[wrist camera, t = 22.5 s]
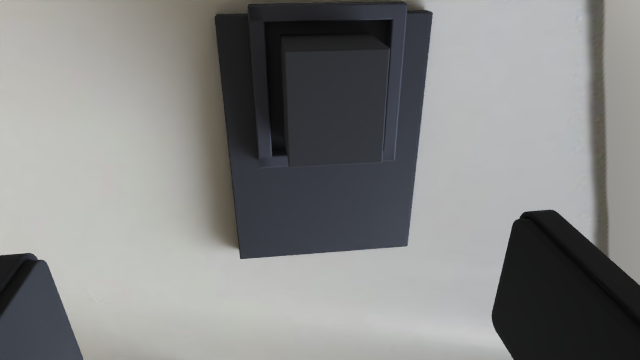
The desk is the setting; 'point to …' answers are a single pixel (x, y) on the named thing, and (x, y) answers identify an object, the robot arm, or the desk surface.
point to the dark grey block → (334, 98)
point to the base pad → (319, 181)
